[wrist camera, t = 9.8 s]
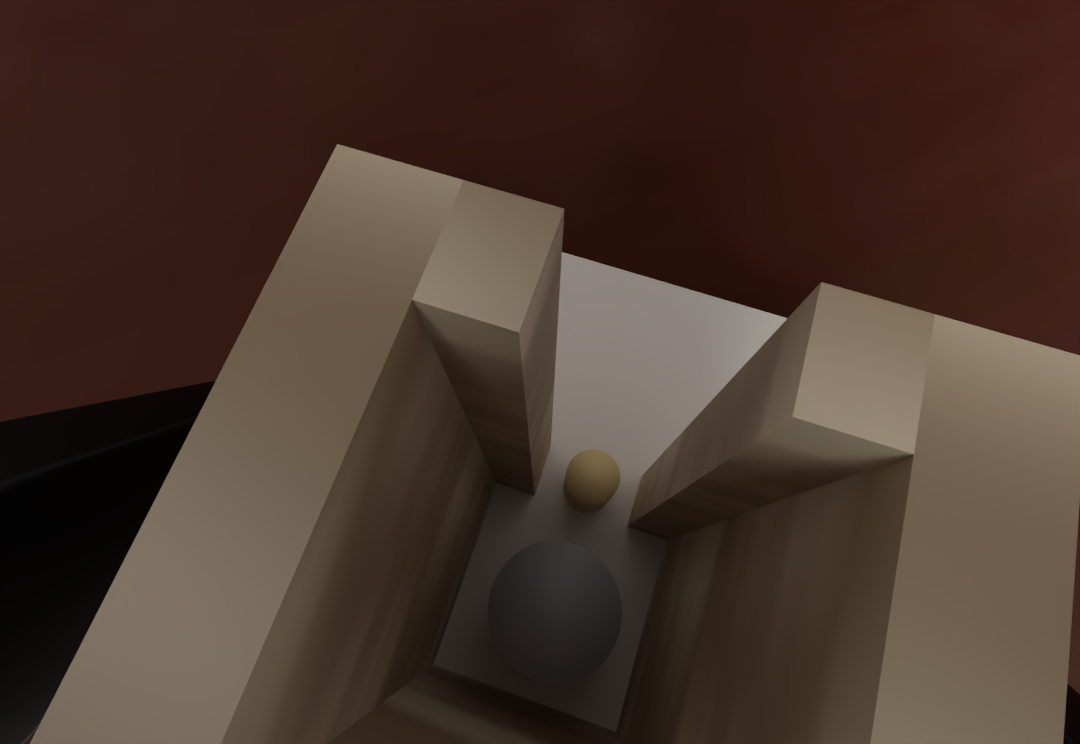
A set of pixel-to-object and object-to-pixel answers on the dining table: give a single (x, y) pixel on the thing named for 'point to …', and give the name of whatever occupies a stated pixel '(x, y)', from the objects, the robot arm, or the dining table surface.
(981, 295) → the dining table surface
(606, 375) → the post plate
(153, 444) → the robot arm
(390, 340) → the beech collar
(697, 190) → the dining table surface
